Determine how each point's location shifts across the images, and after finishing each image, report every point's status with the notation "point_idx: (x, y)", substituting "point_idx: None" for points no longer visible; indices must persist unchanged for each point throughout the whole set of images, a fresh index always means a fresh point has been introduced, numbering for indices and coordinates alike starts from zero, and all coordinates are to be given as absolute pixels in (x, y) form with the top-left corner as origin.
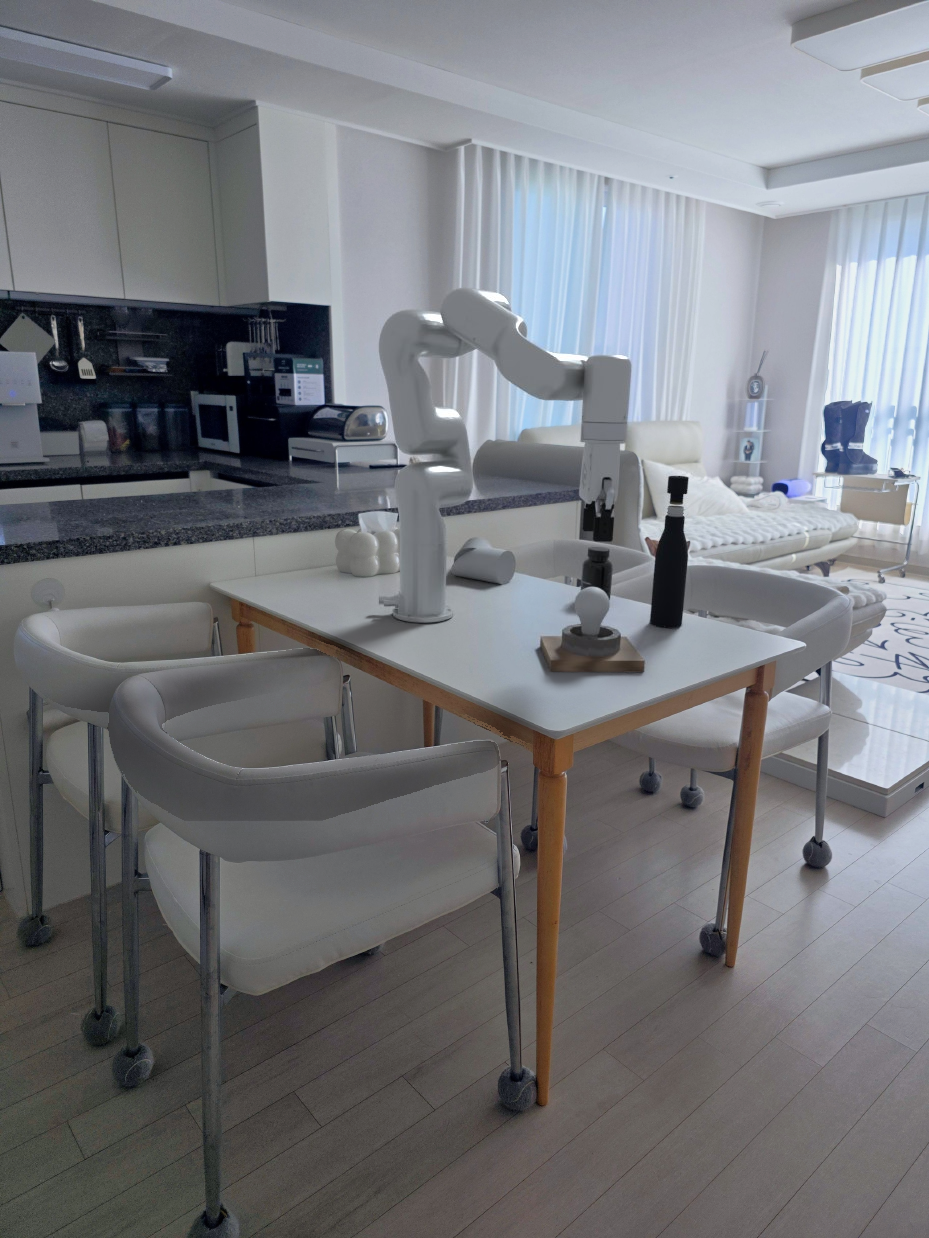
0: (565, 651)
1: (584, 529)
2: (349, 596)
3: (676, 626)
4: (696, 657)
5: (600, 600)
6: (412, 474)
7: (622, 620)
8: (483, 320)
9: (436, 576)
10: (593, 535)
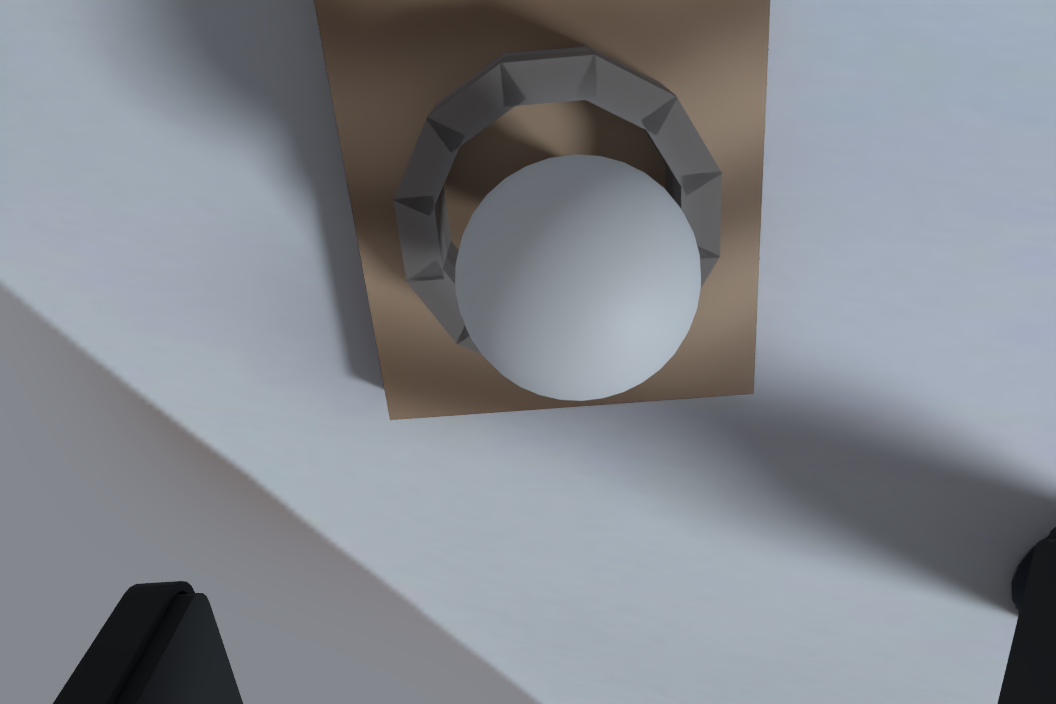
0: (478, 61)
1: (1048, 551)
2: None
3: (1016, 607)
4: (606, 598)
5: (476, 341)
6: None
7: None
8: None
9: None
10: (104, 635)
